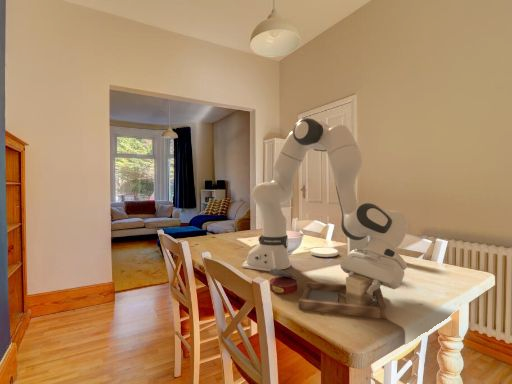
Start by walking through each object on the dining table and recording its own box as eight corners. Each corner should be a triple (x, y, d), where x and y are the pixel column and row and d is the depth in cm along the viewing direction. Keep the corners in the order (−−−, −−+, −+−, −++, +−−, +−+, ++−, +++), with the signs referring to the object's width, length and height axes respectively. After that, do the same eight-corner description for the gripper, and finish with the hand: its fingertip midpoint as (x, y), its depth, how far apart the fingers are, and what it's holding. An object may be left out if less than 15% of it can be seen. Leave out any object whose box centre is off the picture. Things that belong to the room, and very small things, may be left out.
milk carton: (368, 274, 113) (367, 228, 112) (350, 273, 114) (349, 228, 114) (365, 269, 120) (364, 225, 119) (347, 268, 121) (347, 225, 121)
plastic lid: (342, 257, 140) (342, 252, 140) (316, 259, 138) (316, 254, 138) (330, 251, 154) (330, 246, 154) (306, 253, 151) (306, 248, 151)
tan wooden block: (360, 309, 82) (360, 282, 82) (346, 302, 87) (346, 277, 87) (373, 304, 85) (372, 279, 85) (358, 298, 90) (358, 274, 89)
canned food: (269, 301, 101) (261, 274, 104) (294, 293, 104) (285, 267, 108) (280, 297, 91) (270, 267, 95) (306, 289, 95) (296, 260, 98)
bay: (298, 308, 83) (298, 297, 83) (306, 288, 99) (306, 278, 99) (386, 319, 76) (385, 306, 76) (379, 295, 92) (379, 284, 92)
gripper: (348, 242, 98) (328, 275, 93) (403, 254, 80) (381, 295, 75) (357, 253, 100) (338, 285, 96) (412, 267, 82) (392, 307, 78)
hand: (357, 290), depth 85 cm, fingers closed on tan wooden block, 5 cm apart
